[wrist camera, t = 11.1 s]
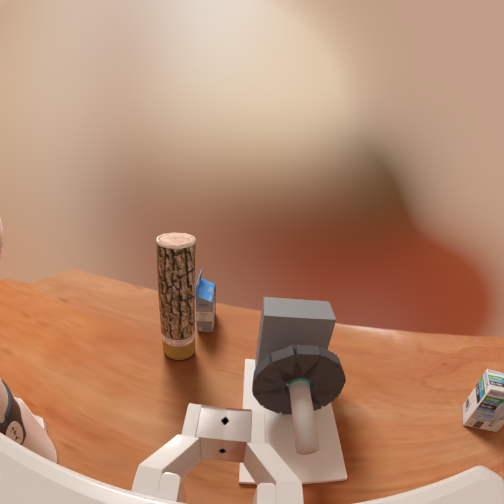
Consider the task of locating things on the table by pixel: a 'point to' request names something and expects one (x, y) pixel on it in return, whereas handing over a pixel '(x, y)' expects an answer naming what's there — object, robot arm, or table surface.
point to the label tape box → (205, 305)
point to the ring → (297, 366)
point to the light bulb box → (486, 403)
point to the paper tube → (177, 293)
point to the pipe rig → (297, 393)
